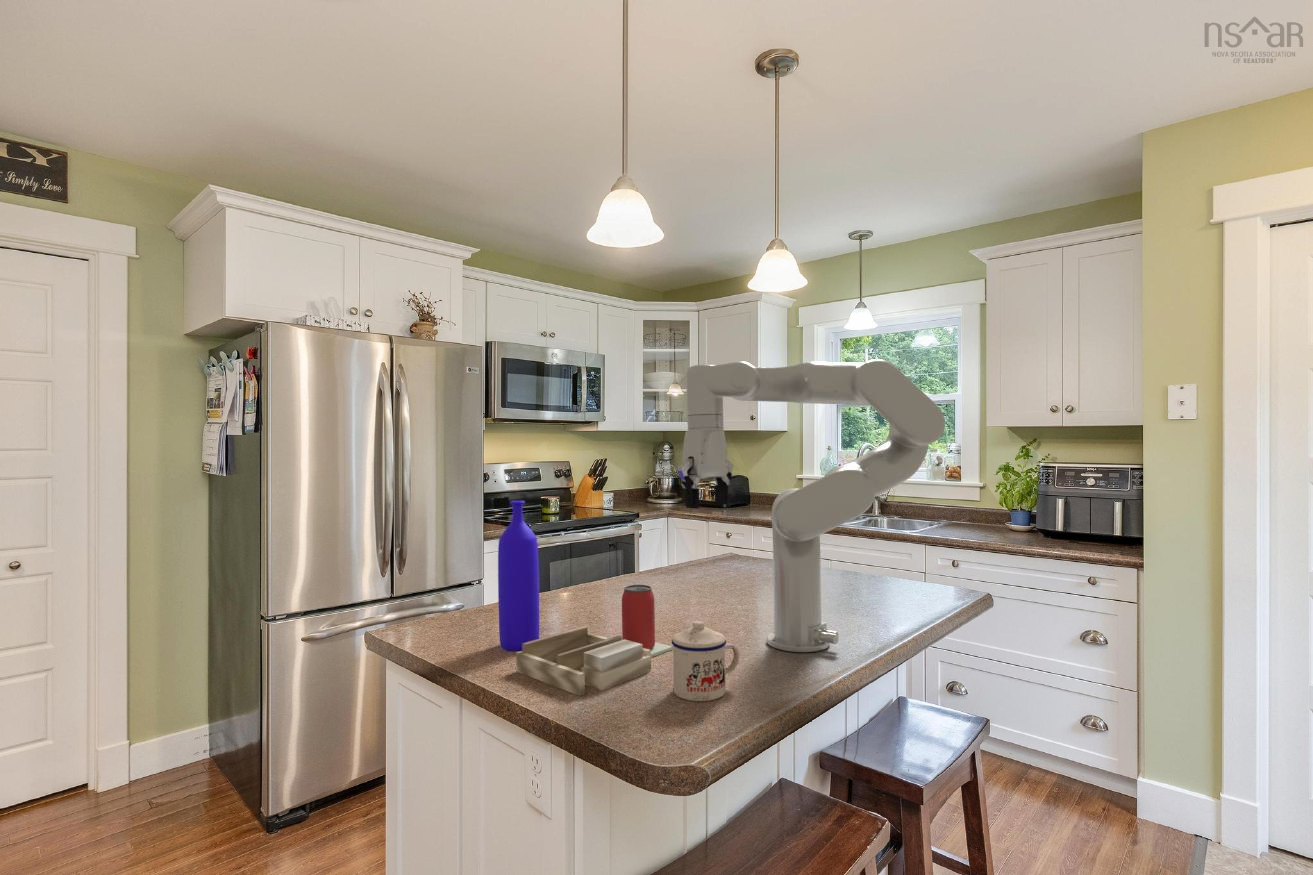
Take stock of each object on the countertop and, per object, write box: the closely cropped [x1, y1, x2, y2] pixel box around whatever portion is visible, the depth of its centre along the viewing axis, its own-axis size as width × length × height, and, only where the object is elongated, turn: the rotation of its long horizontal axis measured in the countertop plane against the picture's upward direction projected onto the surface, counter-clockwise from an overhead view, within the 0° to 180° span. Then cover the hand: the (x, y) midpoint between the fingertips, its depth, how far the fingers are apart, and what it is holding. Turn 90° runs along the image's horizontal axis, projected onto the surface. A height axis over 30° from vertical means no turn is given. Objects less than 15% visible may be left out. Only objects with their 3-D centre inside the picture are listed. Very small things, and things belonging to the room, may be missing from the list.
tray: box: [515, 625, 652, 697], centre depth 122 cm, size 18×17×5 cm
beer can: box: [621, 584, 656, 650], centre depth 133 cm, size 7×7×12 cm
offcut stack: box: [582, 639, 651, 691], centre depth 118 cm, size 5×12×6 cm, turn 137°
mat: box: [650, 641, 673, 658], centre depth 133 cm, size 10×10×1 cm
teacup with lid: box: [671, 620, 740, 702], centre depth 111 cm, size 12×9×12 cm
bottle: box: [497, 500, 540, 652], centre depth 138 cm, size 8×8×30 cm
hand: (707, 505), depth 139 cm, fingers open, 9 cm apart
